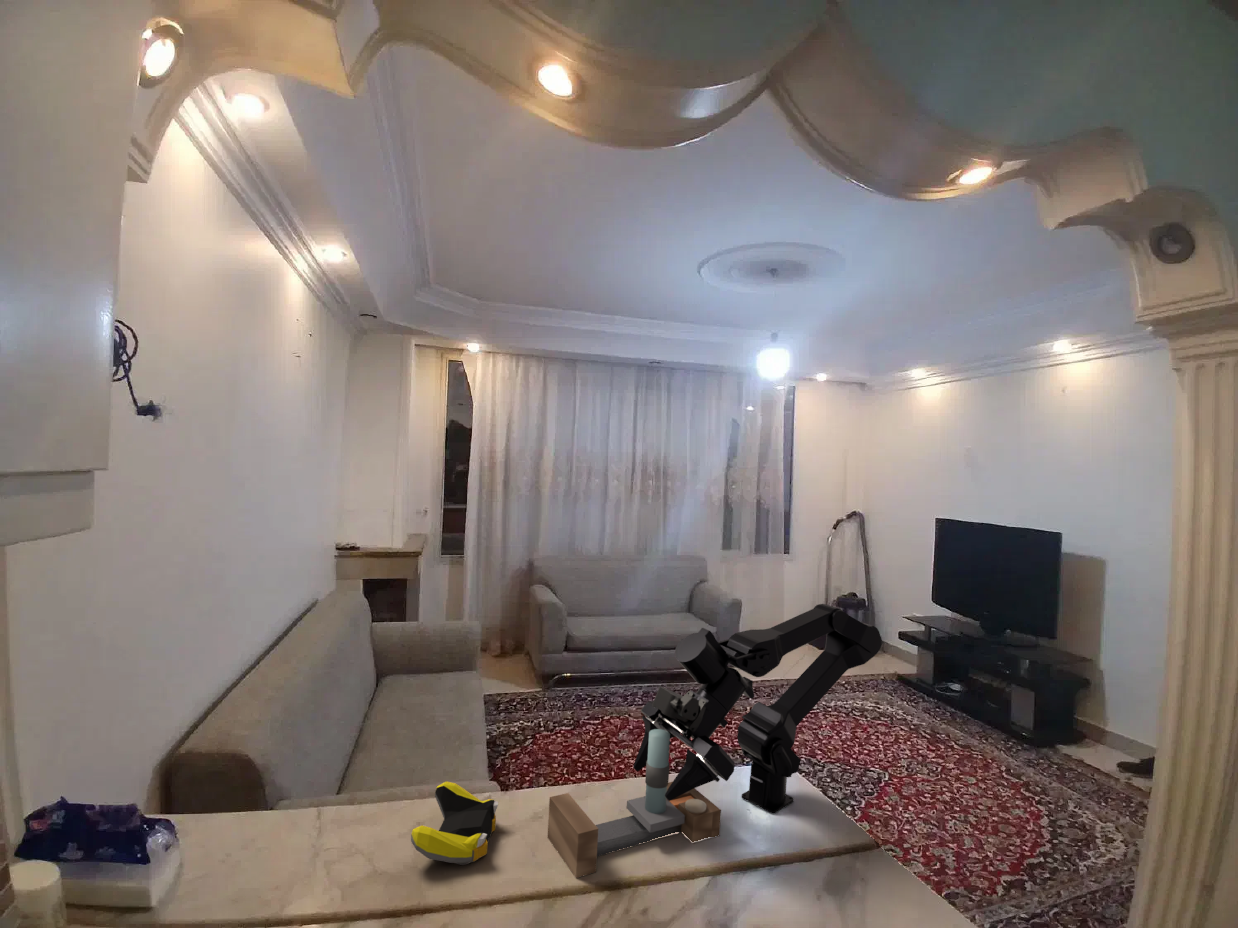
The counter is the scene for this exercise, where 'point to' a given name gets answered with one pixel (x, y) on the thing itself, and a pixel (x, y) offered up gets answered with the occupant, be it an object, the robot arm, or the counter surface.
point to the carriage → (656, 788)
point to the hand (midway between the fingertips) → (650, 783)
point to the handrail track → (626, 834)
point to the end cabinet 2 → (699, 816)
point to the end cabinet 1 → (573, 834)
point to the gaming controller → (457, 827)
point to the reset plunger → (680, 801)
